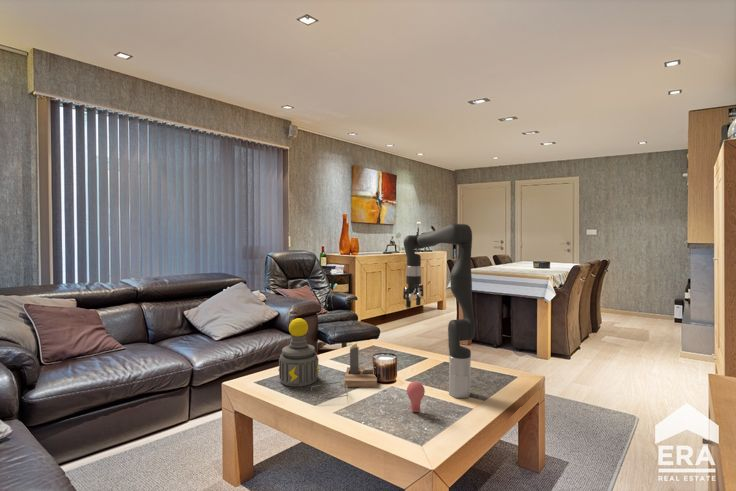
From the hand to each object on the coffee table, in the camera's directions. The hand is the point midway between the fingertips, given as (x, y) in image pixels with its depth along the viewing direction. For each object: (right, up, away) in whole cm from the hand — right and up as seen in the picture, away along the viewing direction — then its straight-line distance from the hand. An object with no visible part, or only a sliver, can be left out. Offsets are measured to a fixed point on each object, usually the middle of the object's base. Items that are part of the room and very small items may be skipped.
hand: (413, 306), depth 218 cm
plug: (-30, -34, -10) cm, 46 cm away
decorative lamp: (-56, -34, -12) cm, 67 cm away
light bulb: (-4, -36, -46) cm, 59 cm away
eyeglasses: (-40, -35, -30) cm, 61 cm away
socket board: (-26, -34, -12) cm, 44 cm away
